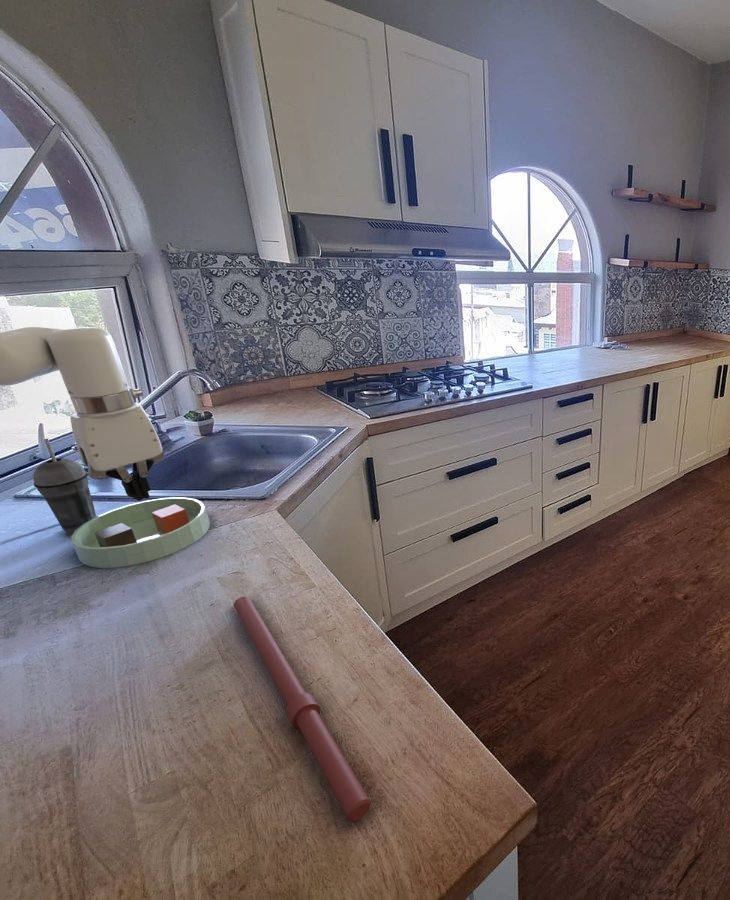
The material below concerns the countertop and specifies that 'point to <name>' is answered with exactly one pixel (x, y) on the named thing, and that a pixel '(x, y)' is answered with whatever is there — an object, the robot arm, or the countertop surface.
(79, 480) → the beverage cup
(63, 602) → the countertop surface
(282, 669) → the rolling pin
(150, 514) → the bowl
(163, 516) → the terracotta block
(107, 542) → the walnut block
